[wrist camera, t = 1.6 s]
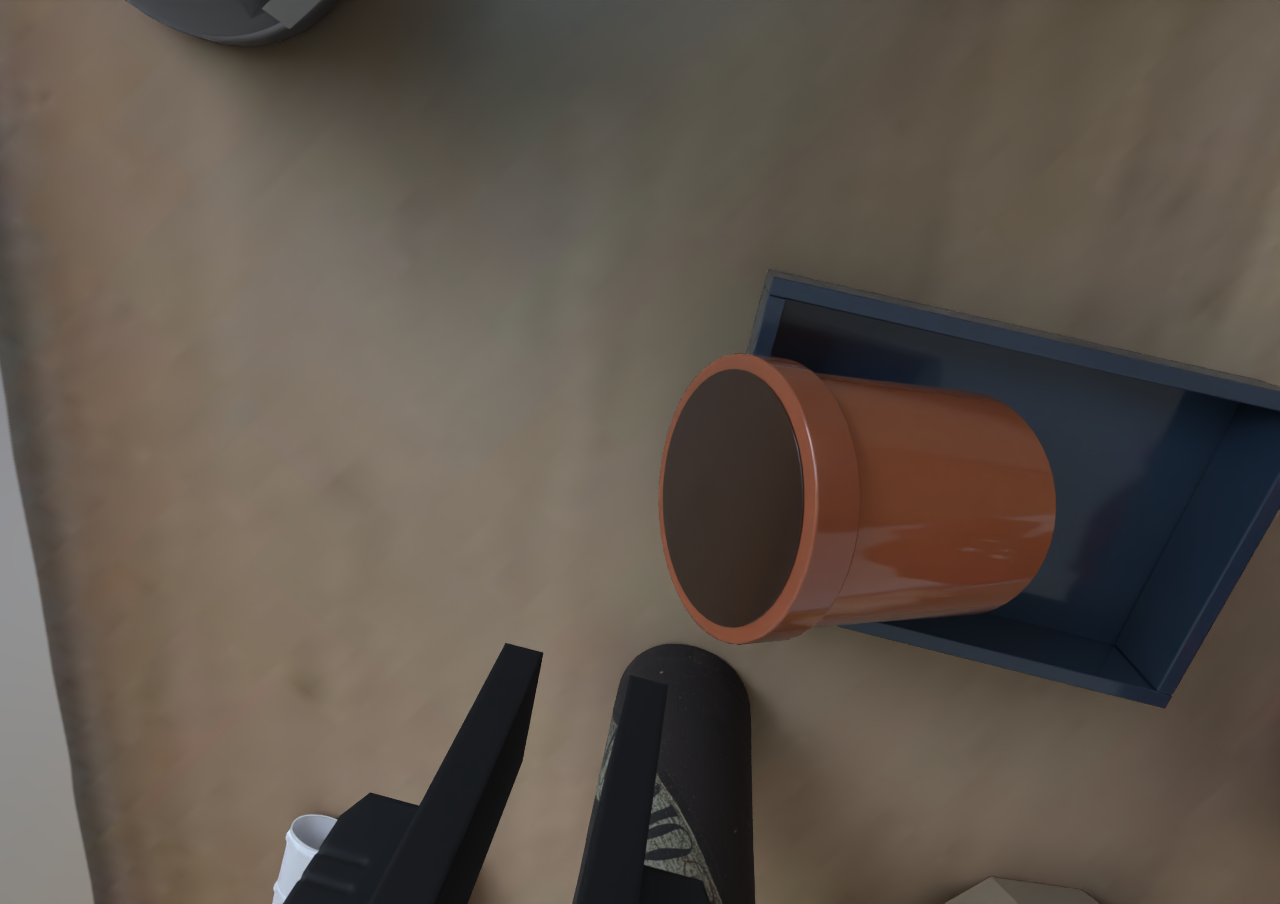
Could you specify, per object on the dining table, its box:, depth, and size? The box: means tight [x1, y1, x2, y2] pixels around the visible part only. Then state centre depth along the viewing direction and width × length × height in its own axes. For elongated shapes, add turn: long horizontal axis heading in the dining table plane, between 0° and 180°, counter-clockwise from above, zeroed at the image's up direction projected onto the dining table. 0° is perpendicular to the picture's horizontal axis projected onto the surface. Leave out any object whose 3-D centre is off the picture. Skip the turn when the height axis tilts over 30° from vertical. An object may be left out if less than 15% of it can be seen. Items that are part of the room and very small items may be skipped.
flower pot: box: [659, 353, 1056, 645], centre depth 29 cm, size 11×16×15 cm
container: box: [572, 644, 755, 904], centre depth 33 cm, size 9×9×20 cm
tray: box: [746, 269, 1280, 708], centre depth 34 cm, size 16×24×5 cm, turn 78°
